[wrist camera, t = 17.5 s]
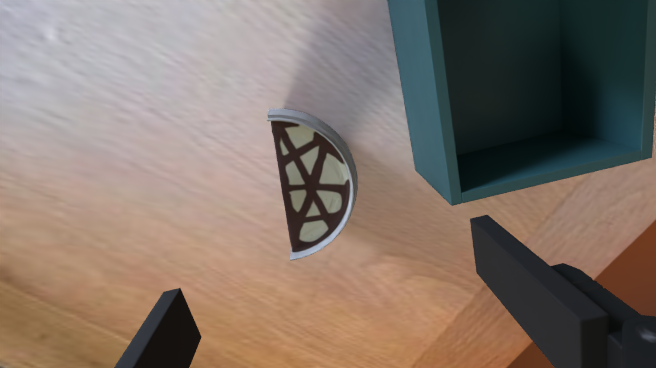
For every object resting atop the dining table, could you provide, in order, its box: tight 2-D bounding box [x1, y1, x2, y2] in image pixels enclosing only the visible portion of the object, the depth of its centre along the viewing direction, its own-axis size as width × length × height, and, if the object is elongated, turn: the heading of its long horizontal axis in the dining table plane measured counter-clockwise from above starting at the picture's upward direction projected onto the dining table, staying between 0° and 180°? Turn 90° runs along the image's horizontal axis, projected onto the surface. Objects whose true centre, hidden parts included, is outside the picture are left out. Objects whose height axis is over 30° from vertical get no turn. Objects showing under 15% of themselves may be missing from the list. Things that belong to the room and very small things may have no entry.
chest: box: [387, 0, 656, 206], centre depth 30 cm, size 17×16×10 cm
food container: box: [267, 109, 358, 261], centre depth 32 cm, size 12×6×10 cm, turn 6°
